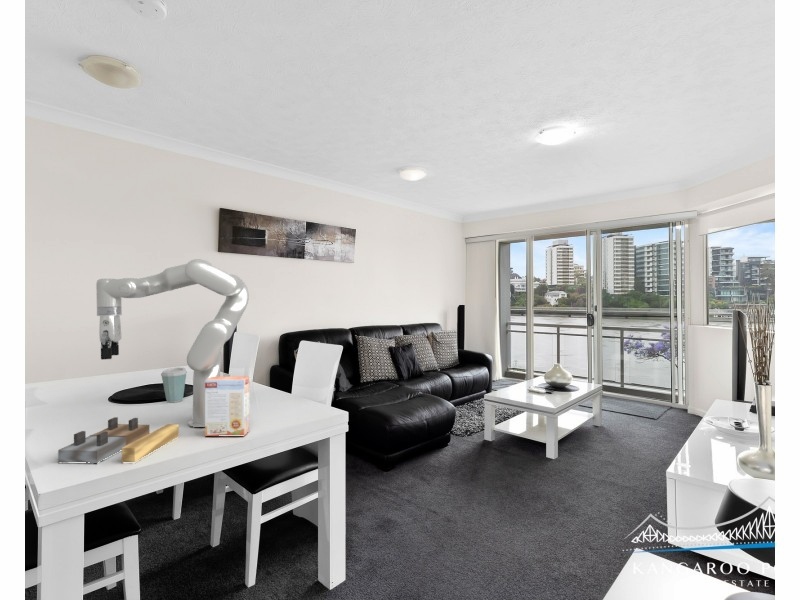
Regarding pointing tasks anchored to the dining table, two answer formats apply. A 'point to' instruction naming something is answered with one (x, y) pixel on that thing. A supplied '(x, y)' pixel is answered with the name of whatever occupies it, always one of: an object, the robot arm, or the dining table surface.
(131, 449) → the bar
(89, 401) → the dining table surface
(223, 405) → the cracker box
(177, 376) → the disposable coffee cup
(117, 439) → the door and jamb
